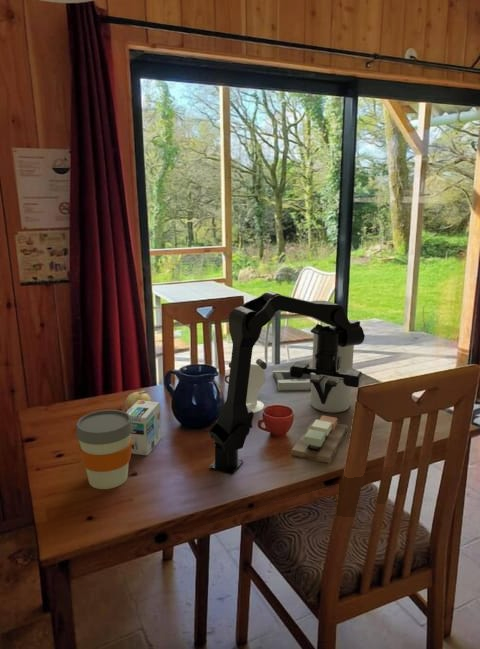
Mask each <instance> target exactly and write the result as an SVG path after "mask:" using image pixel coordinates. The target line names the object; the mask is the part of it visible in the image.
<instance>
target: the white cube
mask: <svg viewBox="0 0 480 649" xmlns="http://www.w3.org/2000/svg"><path fill="white" fill-rule="evenodd" d="M331 428H332V422H327V421H322V420H319V419H317V420H315V422H314V423H313V425H312V428H311V430H316V431H321V432H325V437H326V436H327V435H328V434H329V432H330V431H331Z"/></svg>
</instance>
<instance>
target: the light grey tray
mask: <svg viewBox="0 0 480 649" xmlns="http://www.w3.org/2000/svg"><path fill="white" fill-rule="evenodd" d="M289 375H290V370H272V377H273V378H274V379H275V380H276V384H277V385H276V386H277V390H278V391H303V390H305V391H308V390H309V389H310V390H309V391H311V383H310V379H311V375H309V374H303V376H302V377H300V378H297V377H291V376H289Z"/></svg>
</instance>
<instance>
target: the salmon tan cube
mask: <svg viewBox="0 0 480 649" xmlns="http://www.w3.org/2000/svg"><path fill="white" fill-rule="evenodd" d="M318 420H322V421H327V422H332V428H331V431H333V430H334V429H335V427H336V425H337V424H338V418H337V417H334V416H329V415H323V414H322V415H321V417H320V418H319V419H318Z"/></svg>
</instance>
